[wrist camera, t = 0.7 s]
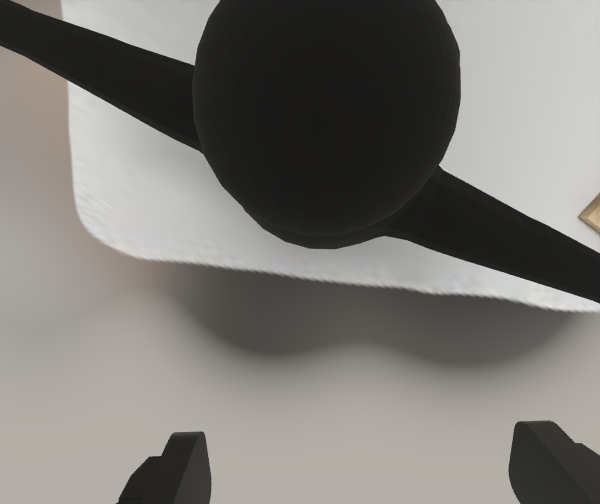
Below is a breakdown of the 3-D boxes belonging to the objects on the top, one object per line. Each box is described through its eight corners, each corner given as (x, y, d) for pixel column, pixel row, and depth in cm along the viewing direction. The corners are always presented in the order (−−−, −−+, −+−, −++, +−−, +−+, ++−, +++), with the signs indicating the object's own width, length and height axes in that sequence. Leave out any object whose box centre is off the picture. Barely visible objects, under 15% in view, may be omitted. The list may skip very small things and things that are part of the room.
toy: (520, 174, 34) (1786, 99, 4) (459, 284, 36) (1013, 692, 7) (182, 28, 34) (-801, -1049, 4) (145, 149, 36) (-627, -7, 7)
